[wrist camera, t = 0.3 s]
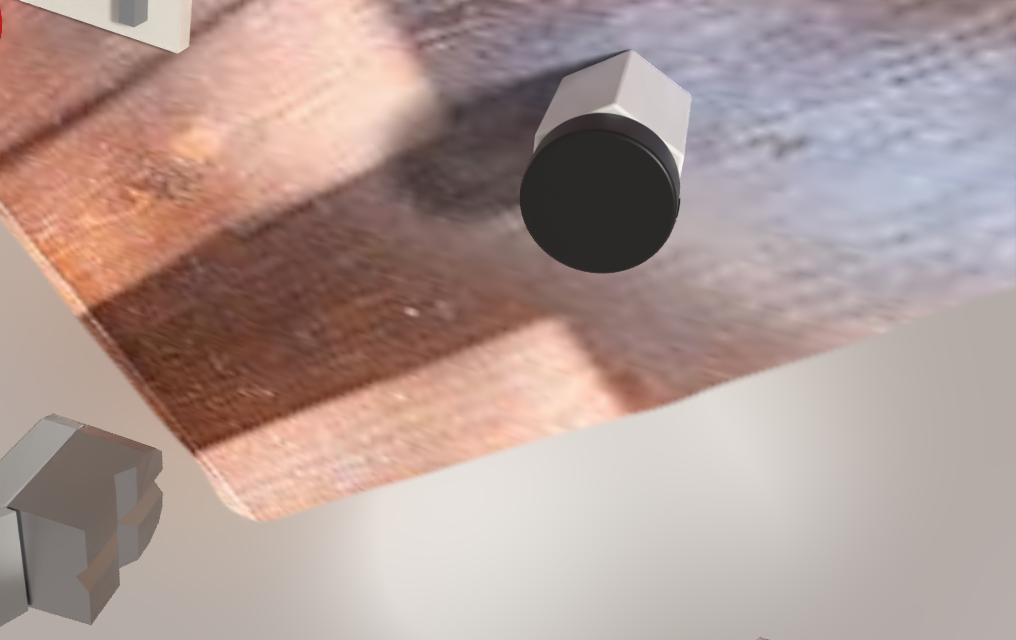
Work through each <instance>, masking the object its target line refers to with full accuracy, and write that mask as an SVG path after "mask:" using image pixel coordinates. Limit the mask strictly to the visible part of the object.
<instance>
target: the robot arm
mask: <svg viewBox="0 0 1016 640" xmlns="http://www.w3.org/2000/svg"><path fill="white" fill-rule="evenodd" d="M162 469H163V467H162V451H160V450H158V449H156V448H154V447H151V446H148V445H145V444H142V443H139V442H136V441H133V440H131V439H128V438H125V437H122V436H119V435H116V434H113V433H110V432H107V431H104V430H101V429H99V428H95V427H93V426H90V425H85V424H83V423H80V422H77V421H74V420H71V419H68V418H65V417H62V416H59V415H56V414H51V415H49V416H47V417H45V418H43V419H41V420H39V422H37V423H36V424H35V425H34V427H33V428H31V430H29V432H28V433H27V434H26V435H25V436H24V437H23V438H22V439H21V440H20V441H19V442H18V443H17V444H16V445H15V446H14V447H13V448H12V449H11V450H10V451H9V452H8V453H7V454H6V455H5V456H4V457H3V458H2V459H1V460H0V627H1V626H2V625H4V624H6V623H7V622H9V621H11V620H13V619H15V618H16V617H18V616H20V615H21V614H23V613H25V612H27V611H28V607H31V608H35V609H39V610H42V611H45V612H49V613H52V614H56V615H59V616H62V617H65V618H69V619H72V620H75V621H79V622H82V623H86V624H89V625H92V623H93V622H94V620H95V619H96V618H97V616H98V615H99V613H100V612H101V611H102V609H103V608H104V607H105V605H106V604H107V602H108V601H109V600H110V598H111V597H112V595H113V594H114V593H115V591H116V590H117V588H118V587H119V585H120V583H119V582H120V580H119V568H121V567H123V566H125V565H127V564H129V563H131V562H134V561H136V560H138V559H139V557H140V556H141V554H142V553H143V551H144V550H145V549H146V547H147V546H148V544H149V543H150V540H151V538H152V536H153V534H154V532H155V529H156V527H157V524H158V523H159V519H160V514H161V510H162V496H163V493H162V491H161V490H160V488H159V487H158V486H157V484H156V483H155V481H154V480H155V479H156V477H157V476H158V475H159V473H160V472H161V471H162ZM757 640H768V639H765V638H761V637H760V638H758V639H757Z"/></svg>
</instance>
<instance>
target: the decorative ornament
mask: <svg viewBox="0 0 1016 640" xmlns="http://www.w3.org/2000/svg"><path fill="white" fill-rule="evenodd" d="M1 33H2V16H1V10H0V38H1Z"/></svg>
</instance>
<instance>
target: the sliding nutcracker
mask: <svg viewBox="0 0 1016 640" xmlns="http://www.w3.org/2000/svg"><path fill="white" fill-rule="evenodd" d="M20 1H23V2H26V3H29V4H32V5H35V6H38V7H41V8H44V9H47V10H50V11H53V12H56V13H59V14H62V15H65V16H68V17H71V18H74V19H77V20H80V21H83V22H86V23H89V24H92V25H94V26H97V27H100V28H103V29H106V30H109V31H112V32H115V33H118V34H121V35H124V36H127V37H130V38H133V39H136V40H139V41H142V42H145V43H148V44H151V45H154V46H157V47H160V48H163V49H166V50H169V51H172V52H175V53H179V52H181V51H183V50H184V49H186V48H187V47H189V39H190V23H191V6H192V0H20Z"/></svg>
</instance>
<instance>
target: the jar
mask: <svg viewBox="0 0 1016 640" xmlns="http://www.w3.org/2000/svg"><path fill="white" fill-rule="evenodd" d="M691 101H692V97H691V95H690V94H689V93H688V92H687V91H685V90H684V89H683V88H681V87H680V86H679V85H678V84H676V83H675V82H674V81H672V80H671V79H670V78H668V77H667V76H666V75H665V74H663V73H662V72H661V71H659V70H658V69H657V68H656V67H654V66H653V65H652V64H650V63H649V62H648V61H646V60H645V59H644V58H643V57H641V56H640V55H639V54H637V53H636V52H635V51H633V50H629V51H627V52H624V53H622V54H619V55H617V56H614V57H612V58H609V59H607V60H604V61H602V62H599V63H597V64H595V65H592V66H590V67H587V68H585V69H582V70H580V71H577V72H575V73H572V74H570V75H567V76H565V77H563V78H562V80H561V82H560V84H559V86H558V88H557V90H556V93H555V95H554V97H553V99H552V101H551V103H550V105H549V107H548V109H547V111H546V113H545V115H544V117H543V119H542V121H541V123H540V126H539V128H538V130H537V132H536V134H535V140H534V151H533V156H532V158H531V160H530V162H529V165H528V167H527V169H526V171H525V174H524V176H523V179H522V183H521V189H520V207H521V212H522V217H523V220H524V223H525V225H526V227H527V229H528V231H529V233H530V235H531V236H532V238H533V239H534V241H535V242H536V243H537V244H538V245H539V246H540V247H541V248H542V249H543V250H544V251H545V252H546V253H547V254H548V255H549V256H551V257H552V258H554V259H555V260H557V261H558V262H560V263H562V264H564V265H566V266H568V267H571V268H574V269H576V270H580V271H584V272H590V273H615V272H620V271H624V270H628V269H630V268H633V267H635V266H638V265H640V264H642V263H643V262H645V261H647V260H648V259H649V258H651V257H652V256H653V255H654V254H655V253H657V252H658V251H659V249H660V248H661V247H662V246H663V245H664V243H665V242H666V241H667V239H668V237H669V236H670V234H671V232H672V229H673V227H674V224H675V222H676V218H677V216H678V212H679V206H680V198H679V194H680V176H681V171H682V166H683V160H684V154H685V146H686V139H687V131H688V123H689V116H690V108H691Z"/></svg>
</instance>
